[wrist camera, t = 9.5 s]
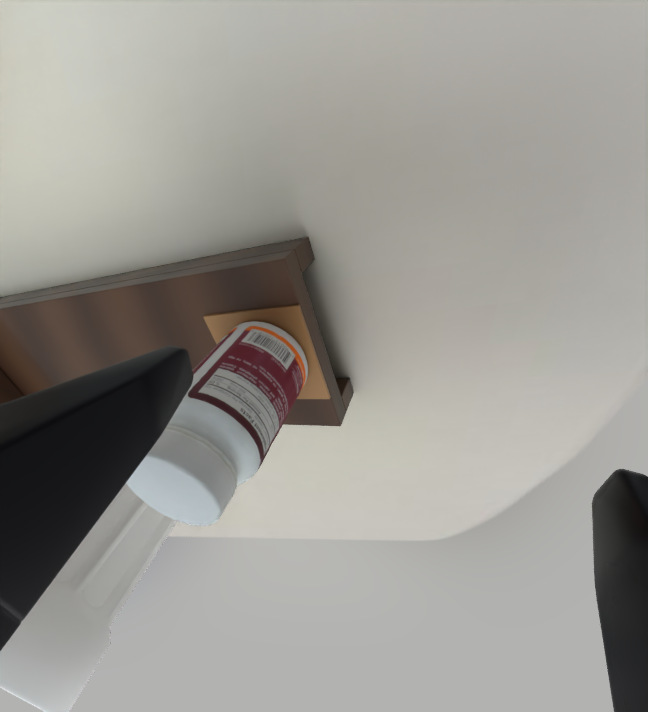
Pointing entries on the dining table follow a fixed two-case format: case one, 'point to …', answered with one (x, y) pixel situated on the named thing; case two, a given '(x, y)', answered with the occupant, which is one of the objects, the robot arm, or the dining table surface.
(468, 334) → the dining table surface
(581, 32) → the dining table surface
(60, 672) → the cup
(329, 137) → the dining table surface
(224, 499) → the pill bottle
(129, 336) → the shelf
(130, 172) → the dining table surface
